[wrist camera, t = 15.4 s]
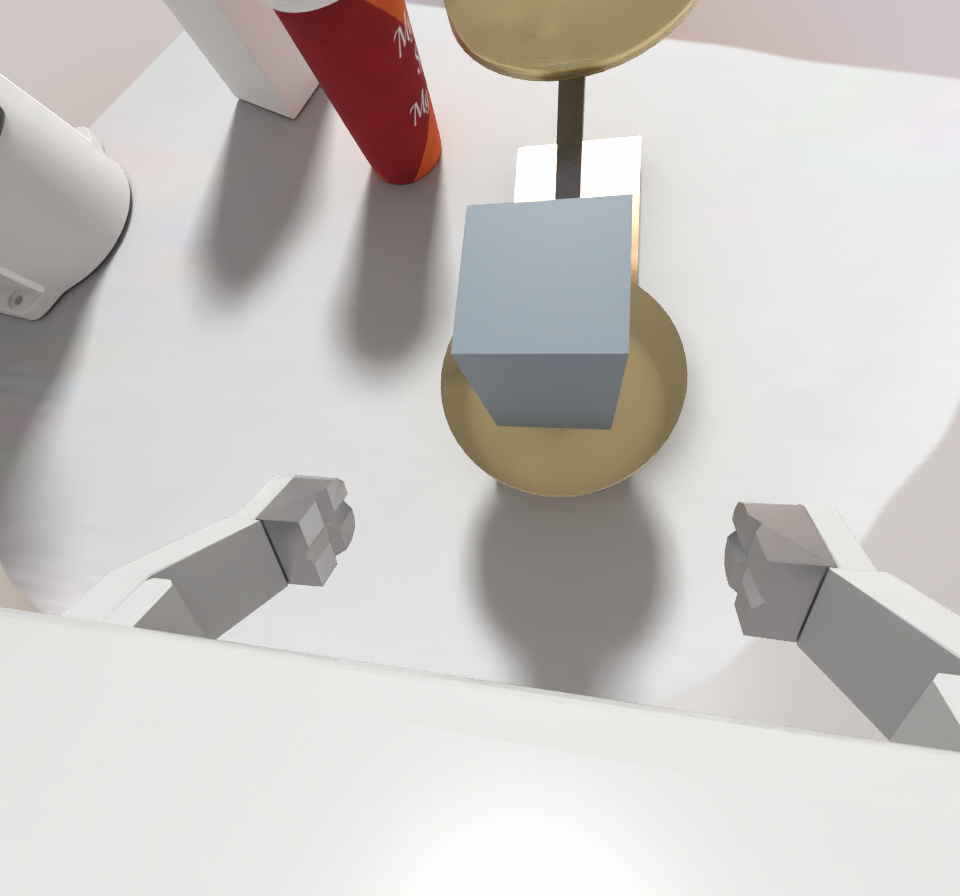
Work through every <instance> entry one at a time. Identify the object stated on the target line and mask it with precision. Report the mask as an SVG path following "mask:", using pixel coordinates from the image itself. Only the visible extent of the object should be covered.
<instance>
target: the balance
mask: <svg viewBox="0 0 960 896" xmlns="http://www.w3.org/2000/svg"><path fill="white" fill-rule="evenodd" d="M697 1H698V0H444V3H445V7H446V11H447V15H448V19H449V23H450V26H451V29H452V32H453V34H454V36H455V38H456V40H457V42H458V43H459V44H460V46H461V47H462V48H463V50H464V51H465V52H466V53H467V54H468V55H469V56H470V57H471V58H473V59H474V60H475V61H476V62H478V63H479V64H481V65H482V66H484V67H486V68H487V69H490V70H492V71H494V72H497V73H499V74H502V75H505V76H509V77H512V78H517V79H523V80H530V81H559V90H558V120H557V144H554V145H544V146H533V147H523V148H519V149H518V160H517V172H516V184H515V195H514V202H527V201H541V200H555V199H569V198H583V197H597V196H611V195H625V194H633V210H632V249H631V288H630V326H629V355H628V359H627V364H626V368H625V372H624V376H623V381H622V385H621V389H620V394H619V398H618V402H617V406H616V411H615V415H614V419H613V424H612V428H611V430H601V429H571V428H541V427H511V426H497V425H496V423H495V422H494V420H493V419H492V417H491V416H490V414H489V413H488V411H487V409H486V408H485V406H484V405H483V403H482V402H481V400H480V398H479V397H478V395H477V394H476V392H475V391H474V389H473V388H472V386H471V384H470V383H469V381H468V380H467V378H466V377H465V375H464V373H463V372H462V370H461V369H460V367H459V366H458V364H457V363H456V361H455V359H454V358H453V356H452V355H451V349H452V339H453V337H452V339H451V341H450V343H449V345H448V348H447V351H446V355H445V358H444V362H443V368H442V373H441V395H442V404H443V408H444V413H445V416H446V419H447V422H448V424H449V427H450V430H451V431H452V433H453V435H454V437H455V439H456V441H457V442H458V444H459V445H460V446H461V448H462V449H463V450H464V452H465V453H466V454H467V455H468V456H469V458H470V459H471V460H472V461H473V462H474V463H475V464H476V465H477V466H479V467H480V468H481V469H482V470H483V471H485V472H486V473H487V474H489V475H490V476H491V477H492V478H494V479H496V480H498V481H499V482H501V483H503V484H505V485H507V486H509V487H511V488H514V489H516V490H519V491H522V492H525V493H529V494H533V495H538V496H546V497H574V496H582V495H587V494H591V493H594V492H598V491H601V490H604V489H606V488H609V487H611V486H614V485H616V484H618V483H620V482H621V481H623V480H625V479H627V478H628V477H630V476H632V475H633V474H634V473H636V472H637V471H638V470H639V469H641V468H642V467H643V466H645V465H646V464H647V463H648V462H649V461H650V460H651V459H652V458H653V457H654V456H655V455H656V453H657V452H658V451H659V449H660V448H661V447H662V445H663V444H664V443H665V441H666V440H667V439H668V437H669V435H670V434H671V432H672V430H673V428H674V426H675V425H676V423H677V420H678V418H679V415H680V413H681V410H682V407H683V403H684V398H685V394H686V386H687V366H686V357H685V353H684V349H683V344H682V342H681V339H680V337H679V334H678V332H677V329H676V328H675V326H674V324H673V322H672V321H671V319H670V317H669V316H668V315H667V313H666V312H665V311H664V309H663V308H662V307H661V306H660V304H659V303H658V302H657V301H655V300H654V299H653V298H652V297H651V296H650V295H649V294H648V293H647V292H645V291H644V290H643V289H641V288H640V287H639V286H637V283H638V239H639V196H640V153H641V136H637V137H627V138H616V139H606V140H596V141H585V142H583V126H584V101H585V77H586V76H589V75H592V74H596V73H599V72H603V71H606V70H608V69H611V68H613V67H616V66H618V65H621V64H623V63H625V62H627V61H629V60H631V59H633V58H635V57H637V56H639V55H640V54H642V53H644V52H645V51H647V50H648V49H650V48H651V47H653V46H655V45H656V44H657V43H659V42H660V41H661V40H662V39H664V38H665V37H666V36H667V35H668V34H670V33H671V32H672V31H673V30H674V29H675V28H676V27H677V26H678V25H679V24H680V23H681V22H682V21H683V20H684V19H685V18H686V16H687V15H688V14H689V13H690V11H691V10H692V9H693V8H694V6H695V4H696V3H697Z"/></svg>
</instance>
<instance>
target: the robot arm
mask: <svg viewBox="0 0 960 896" xmlns="http://www.w3.org/2000/svg"><path fill="white" fill-rule="evenodd" d="M129 205H130V188H129V182H128V179H127V176H126V174H125V172H124V170H123V169H122V168H121V166H120V165H119V164H118V163H117V162H115V161H114V160H113V159H111V158H110V157H109V156H107V155H106V154H105V152H104V150H103V147H102V144H101V141H100V139H99V137H98V136H97V135H95V134H94V133H93V132H91V131H90V130H89V129H87V128H86V127H77V128H73V127H71V126H70V125H69V124H67V123H66V122H65V121H63V120H62V119H61V118H59V117H58V116H56V115H55V114H54V113H53V112H51V111H50V110H49V109H47V108H46V107H45V106H43V105H42V104H40V103H39V102H38V101H36V100H35V99H34V98H32V97H31V96H29V95H28V94H27V93H25V92H24V91H23V90H21V89H20V88H19V87H17V86H16V85H15V84H13V83H12V82H11V81H9V80H8V79H6V78H5V77H4V76H2V75H1V74H0V313H4V314H8V315H12V316H17V317H21V318H25V319H30V320H36V319H39V318H40V317H42V316H43V315H44V314H45V313H46V312H47V311H48V310H49V309H50V308H51V307H52V305H53V304H54V303H55V302H56V301H57V299H58V298H59V297H60V296H61V295H62V294H63V293H64V292H65V291H66V290H68V289H69V288H71V287H72V286H74V285H75V284H77V283H78V282H79V281H81V280H82V279H84V278H85V277H86V276H87V275H89V274H90V273H91V272H92V271H93V270H94V269H95V268H96V267H97V266H98V265H99V264H100V263H101V262H102V261H103V260H104V259H105V257H106V256H107V255H108V254H109V252H110V251H111V249H112V248H113V246H114V245H115V243H116V241H117V240H118V238H119V236H120V234H121V232H122V229H123V227H124V224H125V222H126V219H127V215H128V211H129ZM347 494H348V493H347V491H346V488H345V485H344V482H343V481H342V480H340V479H338V478H328V477H315V476H303V475H299V476H298V475H287V474H280V475H276V476H274V477H273V478H272V479H271V480H270V481H269V482H268V483H267V484H266V485H265V486H264V487H263V488H262V489H261V490H260V491H259V492H258V493H257V494H256V495H255V496H254V497H253V498H252V499H251V500H250V501H249V502H248V503H247V504H246V505H245V506H244V507H243V508H242V509H241V510H240V511H239V512H238V513H237V514H236V515H235V516H234V517H233V518H225V519H222V520H220V521H218V522H216V523H214V524H212V525H209V526H207V527H205V528H203V529H201V530H199V531H196V532H194V533H192V534H190V535H188V536H186V537H184V538H181V539H179V540H177V541H175V542H173V543H171V544H168V545H166V546H164V547H162V548H160V549H158V550H156V551H153V552H151V553H149V554H147V555H145V556H143V557H140V558H138V559H136V560H134V561H132V562H130V563H128V564H125V565H123V566H121V567H119V568H117V569H115V570H112V571H111V572H110V573H109V574H107V575H106V576H105V577H104V578H103V579H102V580H101V581H99V582H98V583H97V584H96V585H95V586H94V587H93V588H92V589H90V590H89V591H88V592H87V593H86V594H85V595H84V596H82V597H81V598H80V599H79V600H78V601H77V602H76V603H74V604H73V605H72V606H71V607H70V608H69V609H68V610H66V611H65V612H64V613H63V614H62V615H61V616H56V615H50V614H43V613H36V612H29V611H23V610H16V609H9V608H3V607H0V896H960V616H958V615H957V614H955V613H953V612H952V611H950V610H948V609H947V608H945V607H943V606H942V605H940V604H939V603H937V602H935V601H934V600H932V599H931V598H929V597H927V596H926V595H924V594H922V593H921V592H919V591H918V590H916V589H914V588H913V587H911V586H909V585H908V584H906V583H905V582H903V581H901V580H900V579H898V578H896V577H895V576H893V575H892V574H890V573H887V572H878V571H877V570H876V568H875V566H874V565H873V563H872V562H871V560H870V559H869V557H868V556H867V554H866V553H865V551H864V550H863V548H862V547H861V545H860V544H859V542H858V541H857V539H856V538H855V536H854V535H853V533H852V532H851V530H850V528H849V527H848V525H847V524H846V522H845V521H844V519H843V518H842V516H841V515H840V513H839V512H838V510H837V509H836V508H834V507H832V506H831V505H802V504H799V505H784V504H766V503H747V502H738V504H737V506H736V507H735V510H734V514H733V518H732V520H733V523H734V526H735V529H736V531H735V532H733V533H732V534H730V535H729V536H728V537H727V542H726V547H725V560H724V565H725V572H726V577H727V581H728V584H729V586H730V587H731V588H732V589H734V590H735V591H736V592H737V597H736V600H735V604H734V605H735V608H736V612H737V615H738V618H739V622H740V625H741V628H742V632H743V635H747V636H755V637H762V638H769V639H776V640H784V641H791V642H798V643H797V645H798V646H799V648H800V649H801V650H802V651H803V652H804V653H805V654H806V655H807V656H808V657H809V658H810V659H811V660H812V661H813V662H814V663H815V664H816V665H817V666H818V667H819V668H820V669H821V670H822V671H823V672H824V673H825V674H826V675H827V676H828V677H829V679H830V680H831V681H832V682H833V683H834V684H835V685H836V686H837V687H838V688H839V689H840V690H841V691H842V692H843V693H844V694H845V695H846V696H847V697H848V698H849V699H850V700H851V701H852V702H853V703H854V704H855V705H856V706H857V708H858V709H859V710H861V712H862V713H863V714H864V715H865V716H866V717H867V718H868V719H869V720H870V721H871V722H872V723H873V724H874V725H875V726H876V727H877V728H878V729H879V730H880V731H881V732H882V733H883V734H884V735H885V736H886V737H887V739H888V740H889V741H882V740H876V739H869V738H862V737H856V736H849V735H843V734H836V733H830V732H823V731H817V730H810V729H804V728H797V727H790V726H784V725H777V724H770V723H763V722H757V721H751V720H744V719H738V718H731V717H724V716H717V715H711V714H705V713H698V712H691V711H685V710H678V709H672V708H665V707H658V706H652V705H645V704H638V703H632V702H625V701H619V700H612V699H605V698H599V697H592V696H585V695H579V694H572V693H565V692H559V691H552V690H546V689H539V688H532V687H526V686H519V685H512V684H506V683H499V682H493V681H486V680H480V679H473V678H466V677H460V676H453V675H447V674H440V673H433V672H427V671H420V670H414V669H407V668H400V667H394V666H387V665H381V664H374V663H367V662H361V661H354V660H348V659H341V658H334V657H328V656H321V655H314V654H308V653H301V652H295V651H288V650H281V649H275V648H268V647H262V646H255V645H248V644H242V643H235V642H228V641H222V640H216V639H217V638H218V637H220V636H221V635H222V634H224V633H225V632H226V631H228V630H229V629H230V628H232V627H233V626H234V625H236V624H237V623H238V622H240V621H241V620H242V619H244V618H245V617H246V616H248V615H249V614H250V613H252V612H253V611H255V610H256V609H257V608H259V607H260V606H261V605H263V604H264V603H265V602H267V601H268V600H269V599H271V598H272V597H273V596H275V595H276V594H277V593H279V592H280V591H281V590H283V589H284V588H285V587H287V586H288V584H299V585H311V586H324V584H325V583H326V581H327V579H328V578H329V576H330V575H331V573H332V571H333V570H334V568H335V567H336V565H337V560H336V555H338V554H340V553H341V552H343V551H344V550H346V549H347V547H348V546H349V544H350V542H351V541H352V537H353V533H354V529H355V518H354V514H353V510H352V508H351V507H350V506H348V505H347V504H346V503H345V502H344V499H345V497H346V495H347Z"/></svg>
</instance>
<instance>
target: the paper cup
mask: <svg viewBox="0 0 960 896" xmlns="http://www.w3.org/2000/svg"><path fill="white" fill-rule="evenodd" d="M262 2H263V3H265V4H266V5H267V6H269V7H271V8H273V10H274V11H275V13H276V15H277V16H278V18H279V19H280V21H281V23H282V24H283V26H284V27H285V29H286V31H287V32H288V34H289V35H290V37H291V39H292V40H293V42H294V43H295V45H296V47H297V48H298V50H299V52H300V53H301V55H302V56H303V58H304V60H305V61H306V63H307V64H308V66H309V68H310V69H311V71H312V72H313V74H314V76H315V77H316V79H317V81H318V82H319V84H320V85H321V87H322V89H323V90H324V92H325V93H326V95H327V97H328V98H329V100H330V101H331V103H332V105H333V106H334V108H335V110H336V111H337V113H338V114H339V116H340V118H341V119H342V121H343V122H344V124H345V126H346V127H347V129H348V130H349V132H350V134H351V135H352V137H353V138H354V140H355V141H356V143H357V145H358V146H359V148H360V149H361V151H362V153H363V154H364V156H365V157H366V159H367V160H368V162H369V163H370V165H371V166H372V168H373V169H374V171H375V172H376V173H377V175H378V176H379V177H380V178H381V179H382V180H384V181H385V182H388V183H390V184H395V185H404V184H409V183H413V182H415V181H417V180H419V179H421V178H423V177H424V176H426V175H427V174H428V173H429V172H430V171H431V170H432V169H433V168H434V166H435V165H436V163H437V162H438V159H439V157H440V154H441V140H440V135H439V131H438V127H437V123H436V118H435V115H434V111H433V107H432V103H431V99H430V95H429V91H428V88H427V84H426V80H425V76H424V72H423V69H422V65H421V61H420V57H419V54H418V50H417V46H416V42H415V39H414V35H413V31H412V27H411V24H410V20H409V16H408V12H407V9H406V5H405V1H404V0H262Z"/></svg>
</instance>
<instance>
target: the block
mask: <svg viewBox="0 0 960 896" xmlns="http://www.w3.org/2000/svg"><path fill="white" fill-rule="evenodd" d="M632 210H633V194H625V195H611V196H597V197H583V198H569V199H555V200H541V201H527V202H513V203H499V204H485V205H471V206H467V211H466V220H465V229H464V239H463V248H462V257H461V266H460V275H459V284H458V294H457V303H456V312H455V321H454V330H453V339H452V349H451V355H452V356H453V358H454V359H455V361H456V363H457V364H458V366H459V367H460V369H461V370H462V372H463V373H464V375H465V377H466V378H467V380H468V381H469V383H470V384H471V386H472V388H473V389H474V391H475V392H476V394H477V395H478V397H479V398H480V400H481V402H482V403H483V405H484V406H485V408H486V409H487V411H488V413H489V414H490V416H491V417H492V419H493V420H494V422H495V423H496V425H497V426H511V427H541V428H571V429H601V430H611V428H612V424H613V419H614V415H615V411H616V406H617V402H618V398H619V394H620V389H621V385H622V381H623V376H624V372H625V368H626V364H627V359H628V355H629V326H630V288H631V249H632Z"/></svg>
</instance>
